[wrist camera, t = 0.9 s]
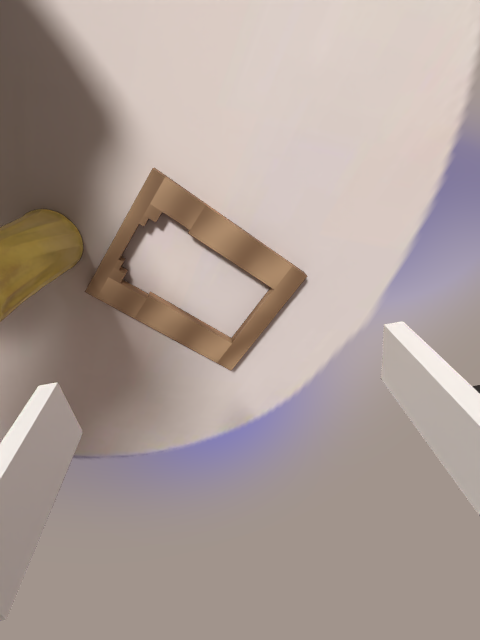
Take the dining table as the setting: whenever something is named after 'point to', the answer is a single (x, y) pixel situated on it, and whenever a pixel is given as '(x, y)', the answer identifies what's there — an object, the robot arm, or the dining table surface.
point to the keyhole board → (219, 237)
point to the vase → (35, 255)
